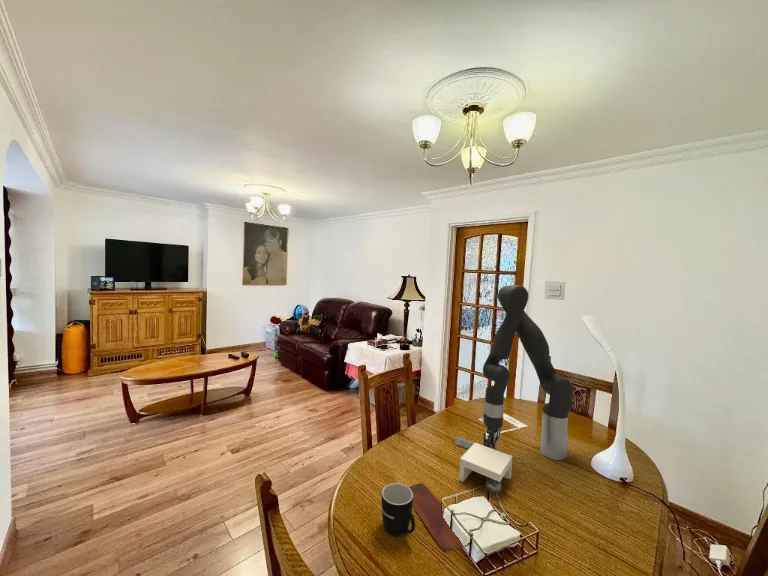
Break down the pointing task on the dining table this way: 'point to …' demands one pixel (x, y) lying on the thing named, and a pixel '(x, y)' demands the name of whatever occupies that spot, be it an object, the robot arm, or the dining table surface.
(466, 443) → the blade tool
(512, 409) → the dining table surface
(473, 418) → the dining table surface
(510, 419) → the photo frame
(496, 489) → the token
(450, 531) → the wooden tablet
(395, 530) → the mug
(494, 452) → the plinth shelf
